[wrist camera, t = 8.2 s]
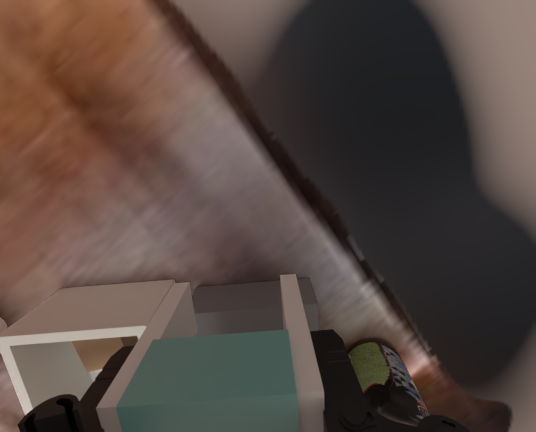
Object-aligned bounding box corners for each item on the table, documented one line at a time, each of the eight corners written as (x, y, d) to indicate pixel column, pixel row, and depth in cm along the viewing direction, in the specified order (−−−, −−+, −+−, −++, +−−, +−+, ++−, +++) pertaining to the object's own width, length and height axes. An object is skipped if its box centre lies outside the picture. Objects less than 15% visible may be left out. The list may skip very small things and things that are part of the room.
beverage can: (385, 387, 31) (458, 533, 20) (322, 374, 31) (359, 518, 19) (406, 340, 30) (499, 469, 18) (340, 326, 29) (393, 450, 17)
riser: (196, 286, 27) (184, 314, 23) (309, 277, 27) (318, 303, 23) (212, 385, 31) (204, 426, 26) (313, 377, 31) (321, 416, 26)
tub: (61, 288, 27) (-6, 337, 20) (174, 279, 27) (145, 325, 20) (95, 402, 31) (48, 476, 24) (195, 394, 31) (177, 465, 24)
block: (95, 306, 27) (67, 333, 23) (134, 296, 27) (113, 322, 23) (111, 340, 28) (87, 372, 24) (149, 331, 28) (131, 361, 24)
